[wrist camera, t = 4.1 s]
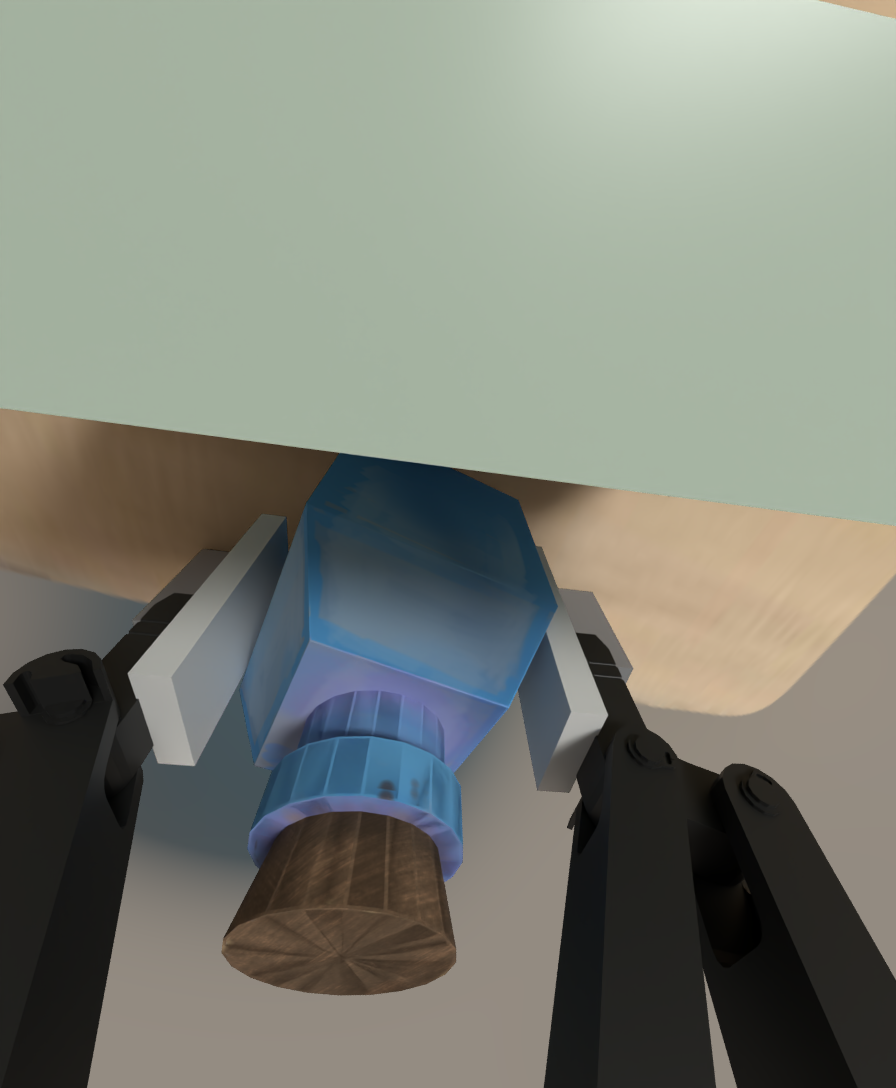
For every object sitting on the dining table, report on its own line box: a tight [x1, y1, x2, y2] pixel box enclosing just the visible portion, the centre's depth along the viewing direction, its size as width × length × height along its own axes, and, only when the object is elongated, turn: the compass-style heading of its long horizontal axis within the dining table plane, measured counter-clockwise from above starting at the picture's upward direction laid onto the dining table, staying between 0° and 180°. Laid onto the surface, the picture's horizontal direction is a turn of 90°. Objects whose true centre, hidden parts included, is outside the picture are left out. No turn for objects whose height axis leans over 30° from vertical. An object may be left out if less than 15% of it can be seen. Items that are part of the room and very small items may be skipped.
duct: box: [132, 549, 633, 684], centre depth 19 cm, size 13×22×6 cm, turn 82°
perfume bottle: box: [222, 453, 558, 995], centre depth 11 cm, size 6×6×12 cm
